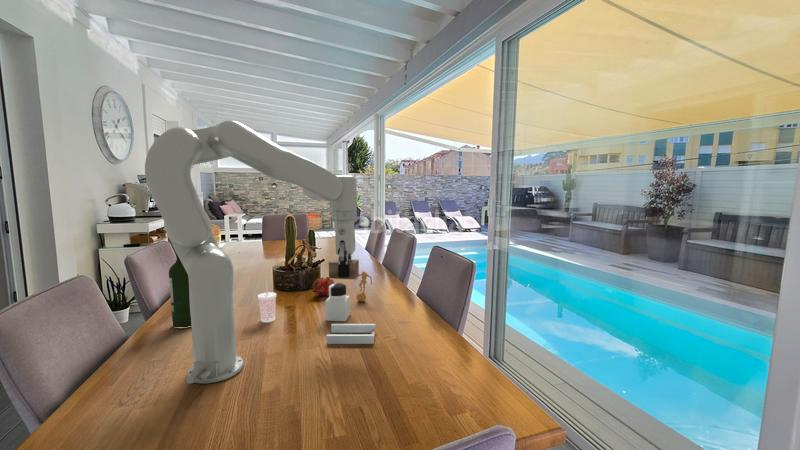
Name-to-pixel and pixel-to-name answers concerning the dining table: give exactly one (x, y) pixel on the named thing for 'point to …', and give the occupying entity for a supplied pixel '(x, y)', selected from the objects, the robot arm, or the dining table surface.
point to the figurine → (361, 295)
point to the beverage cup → (267, 305)
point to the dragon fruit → (322, 286)
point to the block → (352, 269)
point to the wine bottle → (179, 295)
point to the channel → (351, 337)
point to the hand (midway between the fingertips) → (345, 274)
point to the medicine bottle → (337, 303)
